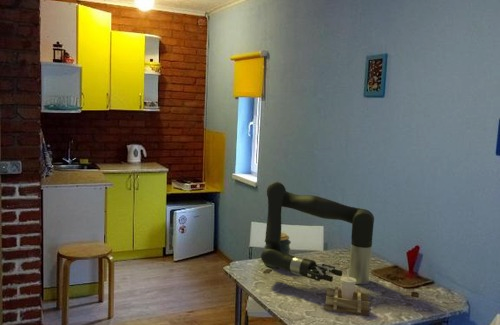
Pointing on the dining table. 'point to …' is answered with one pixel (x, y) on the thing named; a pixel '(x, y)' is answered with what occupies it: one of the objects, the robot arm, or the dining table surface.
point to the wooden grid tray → (347, 302)
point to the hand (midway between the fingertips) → (337, 276)
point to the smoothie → (347, 286)
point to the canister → (283, 245)
